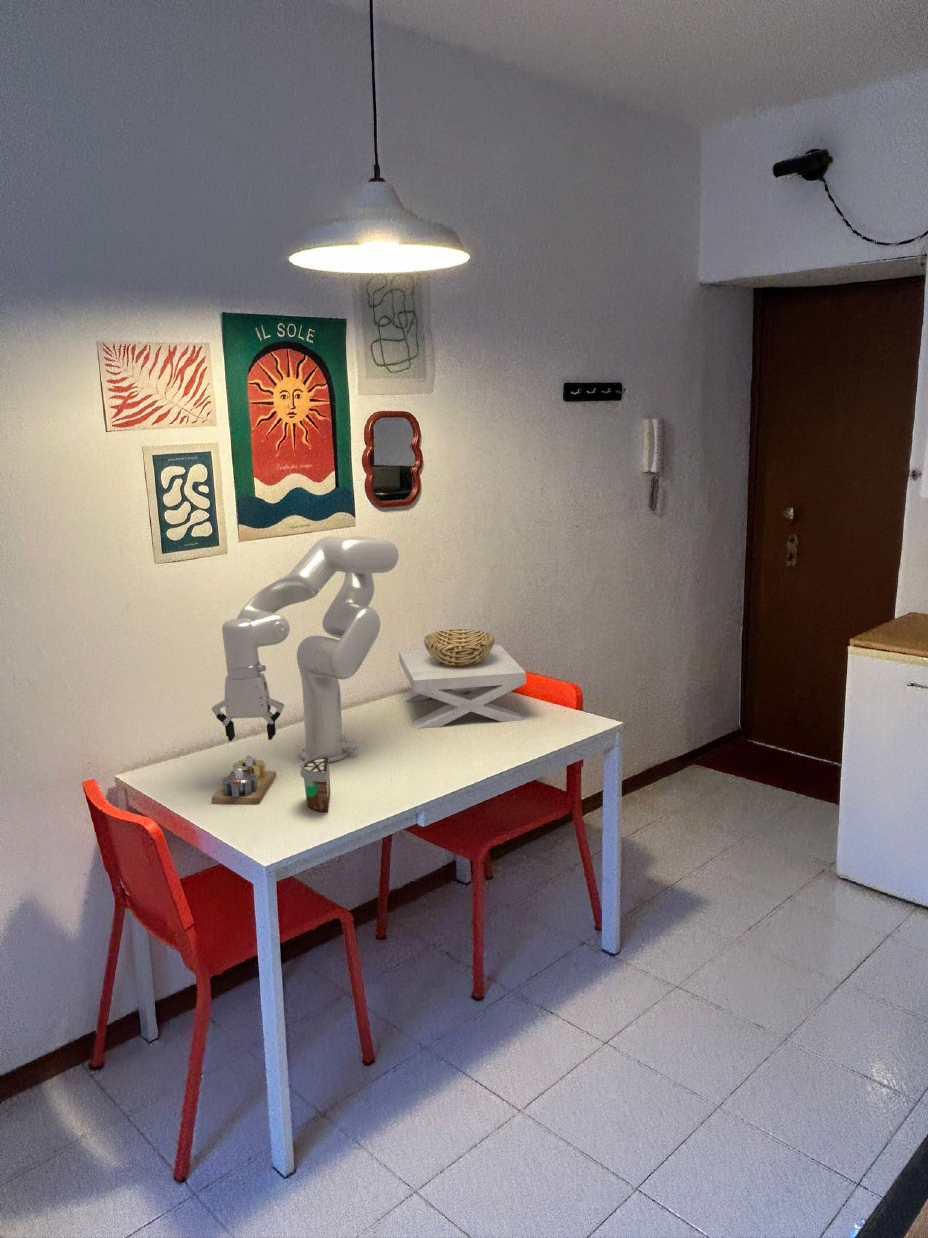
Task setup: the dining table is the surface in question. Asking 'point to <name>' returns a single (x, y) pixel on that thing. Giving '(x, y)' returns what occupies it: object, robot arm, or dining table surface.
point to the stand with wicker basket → (461, 676)
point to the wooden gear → (252, 767)
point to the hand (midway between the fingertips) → (251, 738)
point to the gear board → (255, 798)
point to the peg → (249, 760)
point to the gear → (239, 783)
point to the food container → (317, 782)
